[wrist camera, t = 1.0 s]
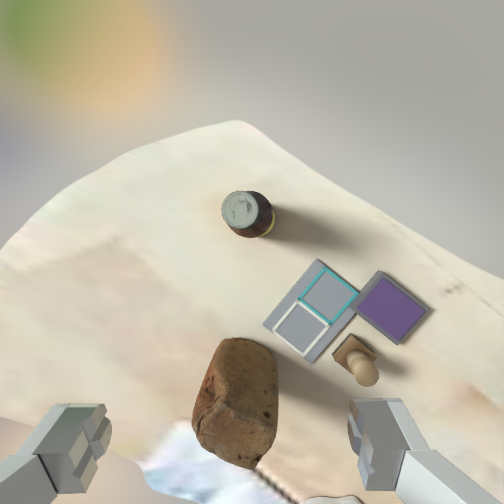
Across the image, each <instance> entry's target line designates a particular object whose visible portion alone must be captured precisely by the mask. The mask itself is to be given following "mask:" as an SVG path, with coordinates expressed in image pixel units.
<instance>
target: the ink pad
mask: <svg viewBox="0 0 504 504" xmlns="http://www.w3.org/2000/svg"><path fill="white" fill-rule="evenodd" d="M359 293H360V295H359V296H358V297H357V298H356V299H355V300H354V302H353V303H352V304H351V305H350V306H349V308H350V309H352V310H353V311H354V312H355V313H357V314H358V315H359V316H360V317H362V318H363V319H364V320H365V321H367V322H368V323H369V324H371V325H372V326H373V327H374V328H376V329H377V330H378V331H379V332H381V333H382V334H383V335H384V336H386V337H387V338H388V339H389V340H391V341H392V342H393V343H395V344H396V345H398V344H399V343H400V342H401V341H402V340H403V339H404V338H405V337H406V336H407V334H408V333H409V332H410V331H411V330H412V329H413V328H414V327H415V326H416V324H417V323H418V322H419V321H420V320H421V319H422V318H423V317H424V316H425V315H426V313H427V312H428V311H429V310H430V309H428V308H427V307H426V306H425V305H423V304H422V303H421V302H419V301H418V300H417V299H416V298H414V297H413V296H412V295H411V294H409V293H408V292H407V291H406V290H404V289H403V288H402V287H400V286H399V285H398V284H397V283H395V282H394V281H393V280H392V279H390V278H389V277H388V276H387V275H385V274H384V273H383V272H381V271H377V272H376V273H375V275H374V276H373V277H372V278H371V279H370V280H369V282H368V283H367V284H366V285H365V286H364V287H363V289H362V290H361V291H360V292H359Z"/></svg>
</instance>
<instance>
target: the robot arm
mask: <svg viewBox="0 0 504 504" xmlns="http://www.w3.org/2000/svg"><path fill="white" fill-rule="evenodd" d="M350 410H351V413H352V414H351V415H350V416H349V417H348V435H349V439H350V443H351V446H352V450H353V451H354V452H355V453H356V454H357V455H358V456H359V459H358V465H357V466H358V469H359V472H360V475H361V478H362V481H363V484H364V487H365V490H368V491H395V494H396V495H397V496H398V497H399V498H400V500H401V501H402V502H403V503H404V504H502V503H501V502H500V501H498V500H497V499H496V498H495V497H493V496H492V495H491V494H490V493H488V492H487V491H486V490H485V489H483V488H482V487H481V486H480V485H478V484H477V483H476V482H475V481H473V480H472V479H471V478H470V477H469V476H467V475H466V474H465V473H464V472H462V471H461V470H460V469H459V468H457V467H456V466H455V465H454V464H452V463H451V462H450V461H449V460H447V459H446V458H445V457H444V456H442V455H441V454H440V453H439V452H437V451H436V450H430V448H429V446H428V445H427V443H426V441H425V439H424V438H423V436H422V434H421V433H420V431H419V429H418V427H417V426H416V424H415V422H414V420H413V419H412V417H411V415H410V413H409V412H408V410H407V408H406V406H405V405H404V403H403V401H402V400H401V399H400V398H384V399H382V398H371V399H352V400H351V402H350ZM106 412H107V410H106V407H105V404H86V403H57V404H55V405H54V406H52V407H51V408H50V409H49V411H48V412H47V413H46V415H45V416H44V417H43V419H42V420H41V421H40V422H39V424H38V425H37V426H36V428H35V429H34V430H33V432H32V433H31V434H30V436H29V437H28V438H27V440H26V441H25V442H24V443H23V445H22V446H21V447H20V449H19V450H18V451H17V452H16V454H15V455H9V456H8V457H6V458H5V459H4V460H3V461H1V462H0V504H50V503H51V502H52V501H53V500H54V499H55V498H56V497H57V494H72V493H86V492H87V489H88V487H89V485H90V483H91V481H92V479H93V477H94V475H95V473H96V471H97V468H98V467H97V460H98V459H99V458H100V457H101V456H102V455H103V454H104V453H105V452H106V450H107V448H108V445H109V443H110V439H111V434H112V425H111V422H110V420H109V419H108V418H106V417H105V414H106ZM299 504H362V503H361V502H360V501H359V500H358V499H357V498H356V497H355V496H346V497H341V498H330V497H314V498H310V499H307V500H305V501H303V502H301V503H299Z"/></svg>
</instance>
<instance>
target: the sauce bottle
mask: <svg viewBox="0 0 504 504" xmlns="http://www.w3.org/2000/svg"><path fill="white" fill-rule="evenodd" d="M222 216H223V218H224V220H225V221H226V223H227V224H228V226H229V227H230V228H231V229H232V230H233V231H234V232H235V233H236V234H238V235H240V236H242V237H247V238H255V237H261V236H264V235H266V234H267V233H269V232H270V231H271V229H272V228H273V226H274V223H275V213H274V210H273V208H272V206H271V204H270V203H269V201H268V200H267V199H266V198H265V197H264V196H263V195H262V194H260V193H258V192H254V191H246V192H245V191H236V192H233V193H231V194H230V195H228V196H227V197H226V198H225V200H224V202H223V204H222Z"/></svg>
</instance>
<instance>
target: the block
mask: <svg viewBox="0 0 504 504" xmlns="http://www.w3.org/2000/svg"><path fill="white" fill-rule="evenodd" d="M277 424H278V372H277V364H276V361H275V360H274V359H273V357H272V354H271V353H270V351H269V350H268V349H266V348H265V347H263V346H261V345H259V344H257V343H256V342H253V341H250V340H244V339H241V338H231V339H224V340H223V341H222V342H221V343H220V345H219V346H218V348H217V349H216V351H215V353H214V356H213V358H212V360H211V363H210V365H209V367H208V370H207V373H206V375H205V377H204V380H203V383H202V385H201V388H200V391H199V394H198V396H197V399H196V403H195V407H194V410H193V418H192V428H193V430H194V431H195V433H196V437H197V439H198V441H199V443H200V445H201V447H203V448H204V449H206V450H207V451H209V452H211V453H214V454H215V455H216V456H218V457H219V458H220V459H223V460H224V461H226V462H229V463H231V464H234V465H236V466H239V467H243V468H246V469H250V470H252V469H253V468H255V467H256V465H257V464H258V462H259V461H260V460H261V458H262V456H263V455H265V454H266V453H267V451H268V450H269V449H270V448H271V446H272V444H273V441H274V439H275V437H276V431H277Z"/></svg>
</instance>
